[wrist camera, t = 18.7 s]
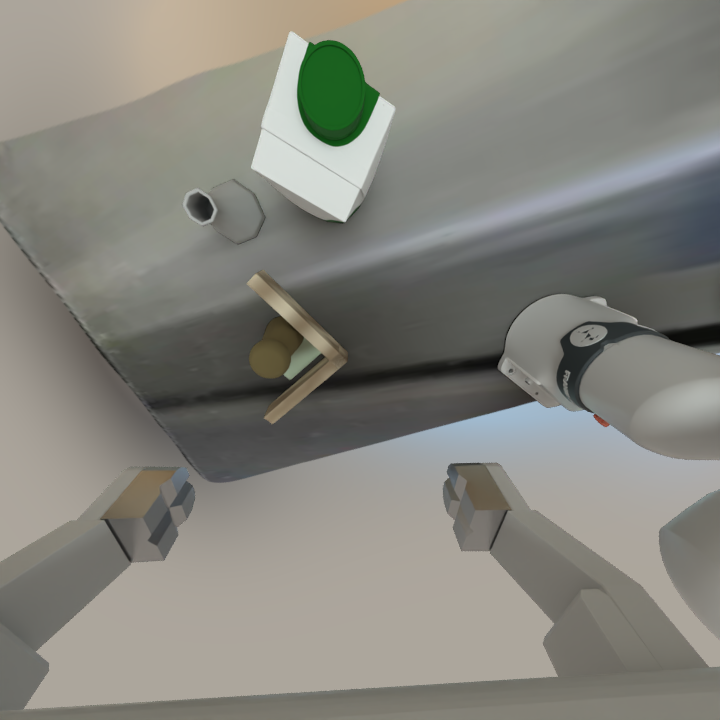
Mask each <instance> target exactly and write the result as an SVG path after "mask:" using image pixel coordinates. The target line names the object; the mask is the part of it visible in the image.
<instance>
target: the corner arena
mask: <svg viewBox="0 0 720 720" xmlns="http://www.w3.org/2000/svg"><path fill="white" fill-rule="evenodd" d="M247 284H248V285H249V286H250V287H251V288H252V289H253V290H254V291H255V292H256V293H257V294H258V295H259V296H260V297H262V298H263V299H264V300H265V301H266V302H267V303H268V304H269V305H270V306H271V307H272V308H273V309H274V310H276V311H277V312H278V313H279V314H280V315H281V316H282V317H283V318H284V319H285V320H286V321H287V322H288V323H290V324H291V325H292V326H293V327H294V328H295V329H296V330H297V331H298V332H299V333H300V334H301V335H303V336H304V339H303V342H302V344H301V345H300V346H299V348H298V349H297V350H296V351H295V352H294V354H293V355H292V356H291V363H290V366H289V369H288V370H287V371H286V373H284V374H283V375H284V376H286V377H287V378H288V379H289V380H291V379H292V378H293V377H295V376H296V375H297V374H298V373H299V372H300V371H301V370H302V369H304V368H305V367H306V366H307V365H308V364H309V363H310V362H312V361H313V360H314V359H315V358H316V357H317V356H318V355H319V354H321V353H322V354H323V355H324V356H325V357H324V358H323V359H322V360H321V361H320V362H319V363H317V364H316V365H315V366H314V367H313V368H312V369H310V370H309V371H308V372H307V373H306V374H305V375H304V376H302V377H301V378H300V379H299V380H298V381H297V382H296V383H294V384H293V385H292V386H291V387H290V388H289V389H288V390H286V391H285V392H284V393H283V394H282V395H281V396H279V397H278V398H277V399H276V400H275V401H274V402H273V403H271V404H270V405H269V407H268V409H267V411H266V413H265V416H264V418H265V419H266V420H268V421H269V422H270V423H272V424H274V423H275V422H276V421H277V420H278V419H280V418H281V417H282V416H283V415H284V414H286V413H287V412H288V411H289V410H290V409H291V408H293V407H294V406H295V405H296V404H297V403H299V402H300V401H301V400H302V399H303V398H305V397H306V396H307V395H308V394H309V393H311V392H312V391H313V390H314V389H315V388H317V387H318V386H319V385H320V384H321V383H323V382H324V381H325V380H326V379H327V378H328V377H330V376H331V375H332V374H333V373H334V372H336V371H337V370H338V369H339V368H340V367H342V366H343V365H344V364H345V363H346V362H348V352H347V351H346V350H345V349H344V348H343V347H342V346H341V345H340V344H339V343H338V342H337V341H336V340H335V339H334V338H333V337H332V336H331V335H329V334H328V333H327V332H326V331H325V330H324V329H323V328H322V327H321V326H320V325H319V324H318V323H317V322H316V321H315V320H314V319H313V318H312V317H311V316H310V315H309V314H308V313H307V312H306V311H305V310H304V309H303V308H302V307H301V306H300V305H299V304H298V303H297V302H296V301H295V300H294V299H293V298H292V297H291V296H290V295H289V294H288V293H287V292H285V291H284V290H283V289H282V288H281V287H280V286H279V285H278V284H277V283H276V282H275V281H274V280H273V279H272V278H271V277H270V276H269V275H268V274H267V273H266V272H265V271H264V270H262V271H260V272H258V273H256V274H255V275H254V276H253V277H252V278H251V279H250V280H249V281H248V283H247Z"/></svg>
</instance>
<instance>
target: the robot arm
mask: <svg viewBox="0 0 720 720" xmlns="http://www.w3.org/2000/svg"><path fill="white" fill-rule="evenodd" d="M509 369H511V370H510V371H509ZM498 370H499V371H500V372H502V373H503V374H504V375H505V376H507V377H508V378H509V379H510V380H512V381H513V382H514V383H515V384H517V385H518V386H519V387H520V388H522V389H523V390H524V391H525V392H527V393H528V394H529V395H530V396H532V397H533V398H534V399H535V400H536V401H538V402H539V403H540V404H542V405H543V406H545V407H547V408H550V407H555V406H559V405H562V406H563V407H565V408H566V409H567V410H569V411H580V410H586V411H588V412H591V413H595V414H594V418H595V419H596V420H597V421H598V422H599V423H600V424H601V425H603V426H605V427H607V426H609V425H611V426H613V427H614V428H616V429H617V430H618V431H620V432H621V433H622V434H624V435H625V436H627V437H628V438H629V439H631V440H632V441H633V442H635V443H636V444H638V445H639V446H641V447H643V448H645V449H647V450H650V451H652V452H655V453H657V454H660V455H664V456H667V457H671V458H677V459H685V460H720V356H719V355H716V354H713V353H709V352H706V351H703V350H699V349H696V348H693V347H689V346H686V345H683V344H680V343H677V342H674V341H670V339H669V338H668V337H666V336H665V335H663V334H661V333H659V332H657V331H655V330H653V329H651V328H648V327H645V326H641V325H638V324H637V319H636V318H634V317H632V316H630V315H627V314H625V313H623V312H620V311H618V310H615V309H613V308H610V307H607V303H606V300H605V299H604V298H601V297H599V296H591V297H585V298H580V297H576V296H573V295H568V294H556V295H551V296H548V297H545V298H542V299H540V300H538V301H536V302H534V303H533V304H531V305H530V306H529V307H527V308H526V309H525V310H524V311H523V312H522V313H521V314H520V315H519V316H518V317H517V318H516V320H515V321H514V322H513V324H512V326H511V327H510V329H509V332H508V334H507V338H506V343H505V351H504V354H503V356H502V357H501V359H500V361H499V364H498ZM447 474H448V476H449V478H448V479H447V480H446V481H445V482H444V487H443V499H444V504H445V507H446V510H447V513H448V514H449V515H450V516H451V517H452V518H453V519H454V520H455V522H454V526H453V530H454V532H455V535H456V538H457V541H458V543H459V546H460V549H461V551H490V554H491V555H492V556H493V557H494V558H495V559H496V560H497V561H498V562H499V563H500V565H501V566H502V567H503V568H504V569H505V570H506V571H507V572H508V573H509V574H510V575H511V576H512V578H513V579H514V580H515V581H516V582H517V583H518V584H519V585H520V586H521V587H522V589H523V590H524V591H525V592H526V593H527V594H528V595H529V596H530V597H531V598H532V600H533V601H534V602H535V603H536V604H537V605H538V606H539V607H540V608H541V609H542V610H543V612H544V613H545V614H546V615H547V616H548V617H549V618H550V619H551V620H552V621H553V622H554V626H553V627H552V628H551V630H550V631H549V632H548V633H547V635H546V636H545V638H544V642H543V645H544V647H545V649H546V651H547V654H548V656H549V658H550V660H551V662H552V664H553V666H554V668H555V670H556V673H557V675H558V677H547V678H530V679H513V680H499V681H481V682H464V683H448V684H433V685H416V686H400V687H384V688H367V689H351V690H334V691H318V692H302V693H287V694H270V695H253V696H237V697H221V698H204V699H188V700H172V701H155V702H142V703H141V702H140V703H124V704H107V705H93V706H92V705H90V706H76V707H58V708H42V709H26V710H23V709H24V707H25V706H26V704H27V703H28V701H29V700H30V698H31V697H32V695H33V694H34V692H35V691H36V689H37V688H38V686H39V685H40V683H41V682H42V680H43V679H44V677H45V676H46V674H47V673H48V671H49V663H48V662H47V661H46V660H44V659H43V658H42V657H41V656H40V655H39V654H37V653H36V651H37V650H38V649H39V648H40V647H41V646H42V645H43V644H44V643H46V642H47V641H48V640H49V639H50V638H51V637H52V636H53V635H54V634H55V633H57V631H59V630H60V629H61V628H62V627H63V626H64V625H65V624H66V623H67V622H69V621H70V620H71V619H72V618H73V617H74V616H75V615H76V614H77V613H78V612H80V610H82V609H83V608H84V607H85V606H86V605H87V604H88V603H89V602H90V601H92V600H93V599H94V598H95V597H96V596H97V595H98V594H99V593H100V592H101V591H102V590H104V589H105V588H106V587H107V586H108V585H109V584H110V583H111V582H112V581H113V580H115V579H116V578H117V577H118V576H119V575H120V574H121V573H122V572H123V571H124V570H125V569H127V567H128V566H130V565H131V563H132V562H148V561H164V560H165V558H166V556H167V554H168V553H169V551H170V549H171V547H172V545H173V544H174V542H175V540H176V538H177V537H178V531H177V527H178V526H179V525H181V524H182V523H183V522H184V521H186V520H187V518H188V516H189V514H190V513H191V511H192V508H193V504H194V501H195V491H194V488H193V486H192V485H191V484H190V483H188V482H187V481H186V480H187V479H188V477H189V473H188V471H187V469H186V468H184V467H129V468H127V469H125V470H123V471H122V472H121V473H120V475H119V476H118V477H117V478H116V479H115V480H114V481H113V482H112V483H111V484H110V485H109V486H108V487H107V488H106V489H105V490H104V492H103V493H102V494H101V495H100V496H99V497H98V498H97V499H96V500H95V501H94V502H93V503H92V504H91V505H90V506H89V508H88V509H87V510H86V511H85V512H84V513H83V514H82V515H81V516H80V517H79V518H78V519H77V520H76V521H69V522H67V523H66V524H64V525H62V526H60V527H59V528H57V529H55V530H54V531H52V532H50V533H49V534H47V535H46V536H44V537H42V538H40V539H39V540H37V541H35V542H33V543H32V544H30V545H28V546H27V547H25V548H23V549H22V550H20V551H18V552H16V553H15V554H13V555H11V556H10V557H8V558H7V559H5V560H3V561H1V562H0V720H720V667H709V666H708V665H707V664H706V663H705V662H704V660H703V659H702V658H701V657H700V656H699V654H698V653H697V652H696V651H695V650H694V648H693V647H692V646H691V645H690V644H689V642H688V641H687V640H686V639H685V638H684V636H683V635H682V634H681V633H680V632H679V630H678V629H677V628H676V627H675V626H674V624H673V623H672V622H671V621H670V620H669V618H668V617H667V616H666V615H665V614H664V612H663V611H662V610H661V609H660V608H659V606H658V605H657V604H656V603H655V602H654V600H653V599H652V598H651V597H650V596H649V594H648V593H647V592H646V591H645V590H644V588H643V587H642V586H641V585H640V584H638V583H637V582H635V581H634V580H633V579H631V578H630V577H629V576H627V575H626V574H624V573H623V572H622V571H620V570H619V569H617V568H616V567H615V566H613V565H612V564H610V563H609V562H608V561H606V560H605V559H603V558H602V557H600V556H599V555H598V554H596V553H595V552H593V551H592V550H591V549H589V548H588V547H587V546H585V545H584V544H582V543H581V542H580V541H578V540H577V539H575V538H574V537H573V536H571V535H570V534H568V533H567V532H566V531H564V530H563V529H562V528H560V527H559V526H557V525H556V524H554V523H553V522H552V521H550V520H549V519H547V518H546V517H545V516H543V515H542V514H541V513H539V512H538V511H536V510H531V509H530V508H529V506H528V505H527V503H526V502H525V500H524V499H523V498H522V496H521V495H520V493H519V492H518V490H517V489H516V487H515V486H514V484H513V483H512V481H511V480H510V478H509V477H508V475H507V474H506V472H505V471H504V470H503V468H502V466H501V465H500V464H498V463H456V464H450V465H449V466H448V470H447ZM659 545H660V552H661V556H662V560H663V563H664V565H665V568H666V570H667V573H668V575H669V577H670V579H671V581H672V583H673V584H674V586H675V588H676V589H677V591H678V593H679V594H680V596H681V597H682V599H683V600H684V601H685V603H686V604H687V605H688V607H689V608H690V609H691V610H692V611H693V613H694V614H695V615H696V616H697V617H698V619H699V620H700V621H701V622H702V623H703V624H704V625H705V626H706V627H707V628H708V629H709V630H710V631H711V632H712V633H713V634H714V635H715V636H716V637H717V638H718V639H719V640H720V489H719V490H717V491H714V492H712V493H709V494H707V495H706V496H704V497H703V498H702V499H700V500H698V501H697V502H696V503H694V504H693V505H691V506H690V507H688V508H687V509H685V510H684V511H683V512H682V513H680V514H679V515H678V516H677V517H675V518H674V519H672V520H671V521H670V522H669V523H668V524H666V525H665V526H663V527H662V528H661V529H660V531H659Z"/></svg>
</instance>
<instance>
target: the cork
mask: <svg viewBox="0 0 720 720" xmlns="http://www.w3.org/2000/svg"><path fill="white" fill-rule="evenodd" d="M303 339H304V336H303V335H301V334H300V333H299V332H298V331H297V330H296V329H295V328H294V327H293V326H292V325H291V324H290V323H288V322H287V321H286V320H285V319H284V318H283V317H282V316H280V317H276V318H274V319H273V320H271V321H270V322H269V324H268V325H267V328H266V330H265V333H264V336H263V338H262V341H260V342H258V343H257V344H255V345H254V347H253V348H252V349H251V351H250V355H249V363H250V365H251V367H252V369H253V370H254V371H255V372H256V374H258V375H260V376H261V377H264V378H277V377H280V376H281V375H283V374H284V373H286V371H287V370H288V369H289V366H290V363H291V356H292V355H293V354H294V352H295V351H296V350H297V349H298V348H299V346H300V345H301V344H302V342H303Z"/></svg>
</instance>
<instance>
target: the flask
mask: <svg viewBox="0 0 720 720" xmlns="http://www.w3.org/2000/svg"><path fill="white" fill-rule="evenodd" d="M182 206H183V208H184V210H185V212H186V213H187V215H188V217H189V219H191V220H193V221H194V222H196V223H197V224H199V225H201V226H205V225H208V224H211V225H212V226H213V227H214V228H215V230H216V231H217V232H219V233H220V234H222V235H223V236H225V237H227V238H228V239H230V240H231V241H233V242H235V243H236V244H240V243H243V242H245V241H248V240H250V239H253V238H255V237H257V234H258V232H259V230H260V228H261V226H262V224H263V221H264V219H265V215H264V213H263V211H262V209H261V207H260V204H259V202H258V200H257V198H256V196H255V194H254V193H253V192H251V191H250V190H249V189H247V188H246V187H244V186H243V185H241V184H240V183H239V182H237V181H236V180H234V179H232V180H229V181H227V182H225V183H223V184H220V185H218V186H216V187H213V188H212V189H211V191H210V192H209V193H208V194H207V193H206V192H204V191H203V190H201V189H200V188H195V189H193V190H191V191H188V192H186V194H185V197H184V200H183V203H182Z"/></svg>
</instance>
